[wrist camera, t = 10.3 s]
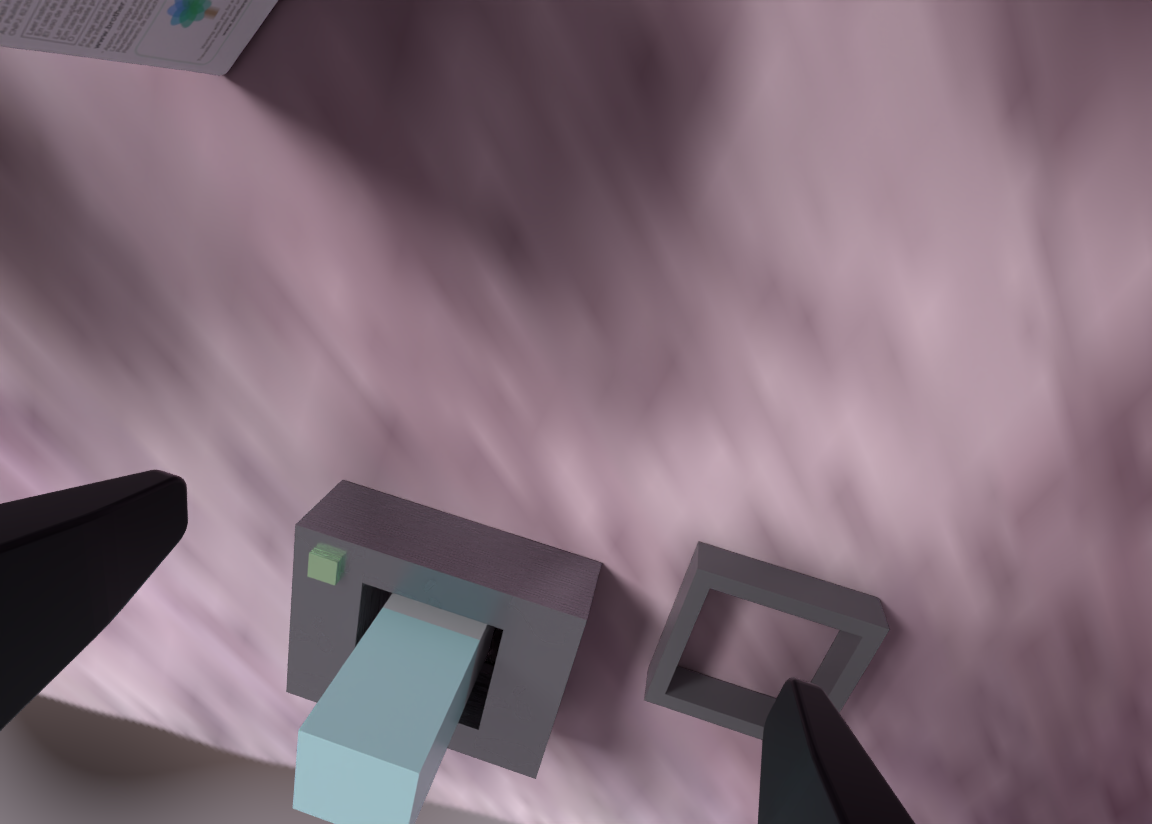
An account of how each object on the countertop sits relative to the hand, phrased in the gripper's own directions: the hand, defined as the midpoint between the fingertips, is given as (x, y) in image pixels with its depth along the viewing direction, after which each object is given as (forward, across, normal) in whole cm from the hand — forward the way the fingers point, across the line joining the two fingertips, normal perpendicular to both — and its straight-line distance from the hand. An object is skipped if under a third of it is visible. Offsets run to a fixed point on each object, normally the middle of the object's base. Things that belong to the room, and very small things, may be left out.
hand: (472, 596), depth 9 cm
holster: (+12, -8, +9) cm, 17 cm away
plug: (+12, +3, +12) cm, 17 cm away
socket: (+12, +3, +12) cm, 17 cm away
